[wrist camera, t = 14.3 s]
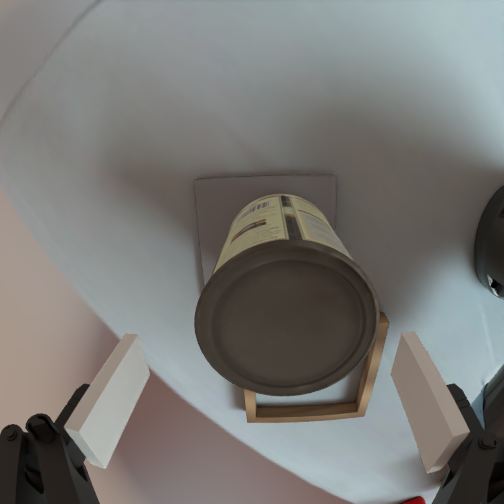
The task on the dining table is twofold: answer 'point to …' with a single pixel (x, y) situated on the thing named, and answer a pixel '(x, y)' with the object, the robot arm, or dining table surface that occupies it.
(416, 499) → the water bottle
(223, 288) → the coffee can
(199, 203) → the mat
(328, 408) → the frame
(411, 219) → the dining table surface
